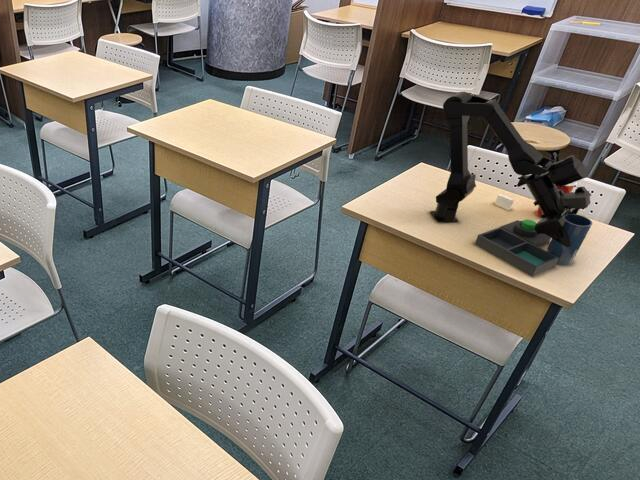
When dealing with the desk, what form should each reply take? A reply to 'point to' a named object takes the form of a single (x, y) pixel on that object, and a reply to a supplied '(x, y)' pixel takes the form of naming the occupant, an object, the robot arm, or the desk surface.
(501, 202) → the eraser
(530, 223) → the button
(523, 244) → the divided tray
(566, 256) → the tumbler
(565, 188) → the paper cup
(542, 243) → the control block
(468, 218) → the desk surface
